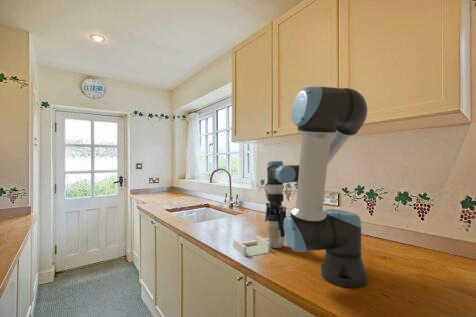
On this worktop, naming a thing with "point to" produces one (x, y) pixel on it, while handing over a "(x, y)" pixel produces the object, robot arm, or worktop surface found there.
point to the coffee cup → (273, 231)
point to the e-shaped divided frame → (259, 241)
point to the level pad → (255, 250)
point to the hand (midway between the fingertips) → (276, 240)
